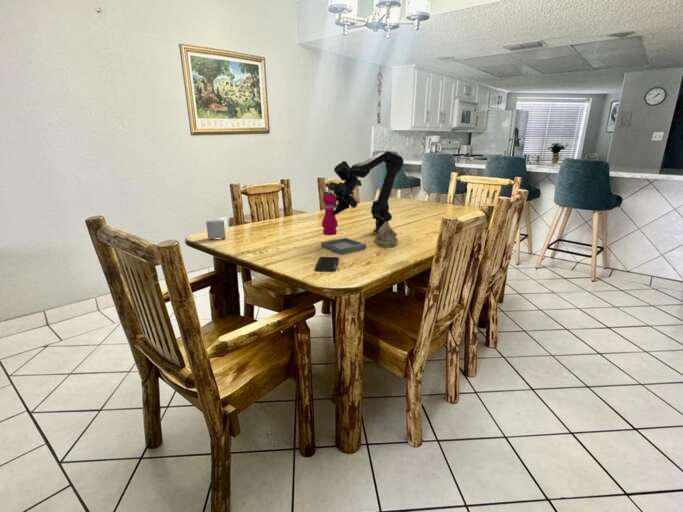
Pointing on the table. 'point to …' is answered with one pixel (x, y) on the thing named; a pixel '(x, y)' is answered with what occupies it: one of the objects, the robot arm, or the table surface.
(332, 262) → the phone
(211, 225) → the medicine box
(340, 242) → the grey tray
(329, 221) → the pepper mill
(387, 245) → the ceramic model
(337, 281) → the table surface
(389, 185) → the robot arm
